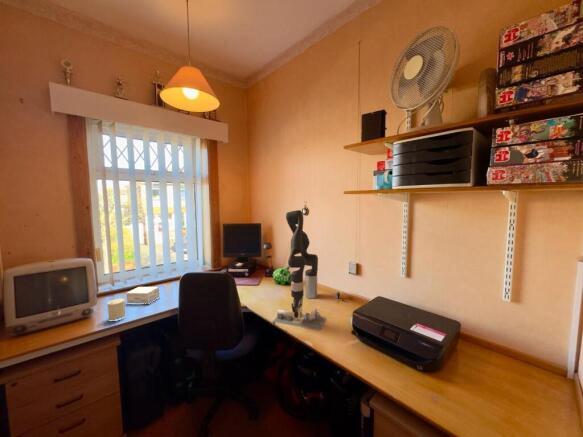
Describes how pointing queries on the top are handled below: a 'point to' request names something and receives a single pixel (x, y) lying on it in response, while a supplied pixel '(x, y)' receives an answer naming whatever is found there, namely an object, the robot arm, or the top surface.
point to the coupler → (299, 312)
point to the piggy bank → (282, 276)
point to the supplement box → (142, 295)
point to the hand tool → (353, 332)
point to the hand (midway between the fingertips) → (297, 315)
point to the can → (116, 309)
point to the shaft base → (306, 320)
